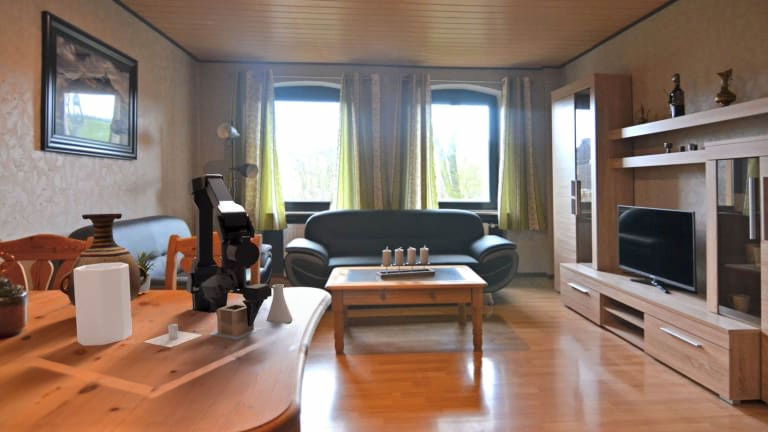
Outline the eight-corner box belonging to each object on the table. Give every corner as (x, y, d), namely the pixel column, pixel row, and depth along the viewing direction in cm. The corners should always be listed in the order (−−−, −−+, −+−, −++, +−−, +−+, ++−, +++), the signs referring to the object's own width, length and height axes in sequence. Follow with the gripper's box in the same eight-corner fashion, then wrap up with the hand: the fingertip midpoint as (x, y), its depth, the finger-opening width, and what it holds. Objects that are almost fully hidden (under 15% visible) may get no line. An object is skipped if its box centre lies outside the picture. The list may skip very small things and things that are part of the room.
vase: (56, 328, 121) (49, 216, 119) (71, 311, 137) (65, 213, 135) (146, 317, 129) (141, 213, 127) (150, 303, 146) (145, 210, 144)
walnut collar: (235, 326, 115) (234, 303, 115) (253, 329, 113) (253, 305, 112) (217, 333, 110) (216, 309, 110) (236, 336, 107) (235, 311, 107)
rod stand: (143, 346, 105) (142, 328, 104) (176, 335, 113) (175, 317, 113) (170, 352, 101) (169, 333, 101) (202, 339, 109) (201, 322, 109)
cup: (74, 354, 101) (69, 272, 100) (81, 339, 111) (76, 265, 110) (131, 345, 106) (127, 267, 105) (133, 332, 116) (129, 260, 115)
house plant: (173, 287, 169) (171, 244, 168) (155, 296, 155) (153, 249, 154) (135, 288, 168) (132, 245, 167) (113, 297, 155) (111, 250, 154)
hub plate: (208, 339, 109) (207, 314, 109) (235, 328, 118) (235, 305, 117) (237, 344, 106) (236, 318, 105) (263, 332, 114) (262, 308, 113)
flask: (286, 326, 119) (285, 288, 118) (260, 325, 120) (259, 288, 120) (296, 318, 126) (295, 283, 125) (272, 317, 128) (271, 282, 127)
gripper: (179, 264, 107) (181, 328, 108) (239, 269, 99) (241, 339, 100) (215, 257, 117) (217, 316, 118) (272, 261, 109) (274, 324, 110)
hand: (235, 324), depth 111 cm, fingers open, 9 cm apart
